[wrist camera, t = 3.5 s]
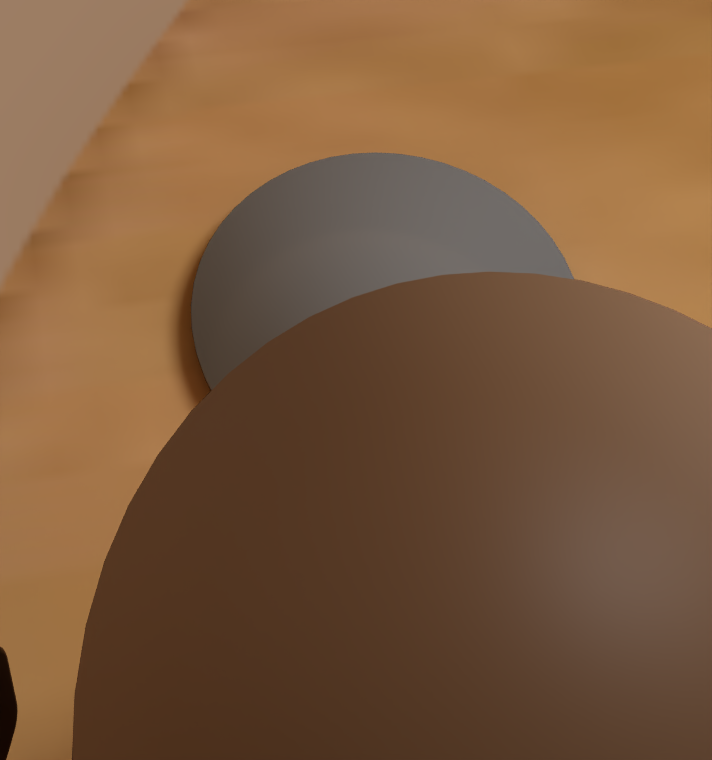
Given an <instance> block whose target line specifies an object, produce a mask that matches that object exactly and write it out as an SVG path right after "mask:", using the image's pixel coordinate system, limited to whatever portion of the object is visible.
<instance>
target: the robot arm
mask: <svg viewBox="0 0 712 760" xmlns="http://www.w3.org/2000/svg"><path fill="white" fill-rule="evenodd" d="M16 721H17V701H16V696H15V692H14V687H13V682H12V677H11V673H10V668H9V663H8V658H7V655H6V652H5V651H4V649H3V648H2V647H0V760H6V758H7V755H8V752H9V748H10V745H11V741H12V738H13V734H14V731H15V727H16Z"/></svg>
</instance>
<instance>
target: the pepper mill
mask: <svg viewBox="0 0 712 760" xmlns="http://www.w3.org/2000/svg"><path fill="white" fill-rule="evenodd" d="M72 760H712V328H710V327H708V326H706V325H704V324H702V323H700V322H697V321H695V320H693V319H691V318H689V317H687V316H685V315H683V314H681V313H679V312H677V311H675V310H673V309H670V308H668V307H665V306H662V305H660V304H657V303H654V302H652V301H649V300H646V299H644V298H641V297H638V296H636V295H633V294H630V293H627V292H623V291H620V290H616V289H612V288H608V287H604V286H601V285H597V284H593V283H589V282H585V281H581V280H575V279H568V278H561V277H555V276H548V275H542V274H535V273H511V272H475V273H461V274H447V275H439V276H434V277H428V278H423V279H418V280H412V281H407V282H402V283H397V284H393V285H390V286H387V287H384V288H381V289H378V290H374V291H371V292H368V293H365V294H362V295H358V296H355V297H352V298H350V299H348V300H346V301H343V302H341V303H339V304H337V305H334V306H332V307H330V308H328V309H326V310H323V311H321V312H319V313H317V314H315V315H312V316H310V317H308V318H307V319H305V320H303V321H302V322H300V323H298V324H297V325H295V326H294V327H292V328H290V329H289V330H287V331H285V332H284V333H282V334H280V335H279V336H277V337H275V338H274V339H272V340H271V341H269V342H267V343H266V344H265V345H264V346H262V347H261V348H260V349H259V350H257V351H256V352H255V353H253V354H252V355H251V356H250V357H248V358H247V359H246V360H245V361H243V362H242V363H241V364H240V365H238V366H237V367H236V368H235V369H233V370H232V371H231V372H230V373H228V374H227V375H226V376H225V377H224V378H223V379H222V380H221V381H220V382H219V383H218V384H217V385H216V386H215V388H214V389H213V390H212V391H211V392H210V393H209V394H208V395H207V396H206V397H205V398H204V399H203V400H202V401H201V402H200V403H199V404H198V405H197V406H196V407H195V408H194V409H193V410H192V411H191V412H190V414H189V415H188V416H187V417H186V419H185V420H184V421H183V423H182V424H181V425H180V427H179V428H178V429H177V431H176V432H175V433H174V435H173V436H172V437H171V438H170V440H169V441H168V442H167V444H166V445H165V446H164V448H163V449H162V450H161V452H160V453H159V454H158V456H157V457H156V459H155V461H154V463H153V464H152V466H151V468H150V469H149V471H148V473H147V475H146V476H145V478H144V480H143V481H142V483H141V485H140V487H139V488H138V490H137V492H136V493H135V495H134V497H133V499H132V500H131V502H130V504H129V505H128V508H127V510H126V512H125V515H124V517H123V519H122V522H121V524H120V526H119V529H118V531H117V533H116V536H115V538H114V540H113V543H112V545H111V547H110V550H109V552H108V554H107V557H106V559H105V561H104V565H103V568H102V571H101V575H100V578H99V582H98V585H97V589H96V592H95V596H94V599H93V602H92V606H91V609H90V613H89V616H88V620H87V623H86V628H85V634H84V640H83V646H82V652H81V658H80V664H79V670H78V677H77V683H76V689H75V699H74V723H73V747H72Z"/></svg>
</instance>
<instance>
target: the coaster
mask: <svg viewBox="0 0 712 760" xmlns="http://www.w3.org/2000/svg"><path fill="white" fill-rule="evenodd" d="M475 272H511V273H535V274H542V275H548V276H555V277H561V278H568V279H574V278H573V276H572V273H571V271H570V269H569V267H568V265H567V263H566V261H565V258H564V257H563V255H562V253H561V252H560V250H559V249H558V247H557V246H556V244H555V242H554V241H553V239H552V238H551V237H550V236H549V234H548V233H547V232H546V231H545V229H544V228H543V227H542V226H541V225H540V223H539V222H538V221H537V220H536V219H535V218H534V217H533V216H532V215H531V214H530V213H529V212H528V211H527V210H525V209H524V208H523V207H522V206H521V205H520V204H519V203H517V202H516V201H515V200H513V199H512V198H511V197H510V196H508V195H507V194H506V193H504V192H503V191H501V190H500V189H498V188H496V187H495V186H493V185H491V184H490V183H488V182H487V181H485V180H483V179H481V178H479V177H477V176H475V175H472V174H470V173H468V172H466V171H464V170H461V169H459V168H456V167H453V166H450V165H448V164H445V163H442V162H438V161H434V160H430V159H426V158H422V157H416V156H409V155H403V154H392V153H359V154H348V155H342V156H335V157H330V158H326V159H322V160H318V161H314V162H311V163H308V164H305V165H302V166H300V167H297V168H294V169H292V170H289V171H287V172H285V173H283V174H281V175H279V176H278V177H276V178H274V179H272V180H270V181H268V182H267V183H265V184H264V185H262V186H261V187H259V188H258V189H257V190H255V191H254V192H252V193H251V194H250V195H249V196H247V197H246V198H245V199H244V200H243V201H242V202H241V203H240V204H238V205H237V206H236V207H235V208H234V209H233V210H232V212H231V213H230V214H229V215H228V216H227V217H226V218H225V220H224V221H223V222H222V223H221V224H220V226H219V227H218V229H217V231H216V232H215V234H214V235H213V237H212V238H211V240H210V241H209V243H208V245H207V248H206V250H205V252H204V254H203V256H202V259H201V261H200V263H199V267H198V270H197V274H196V277H195V281H194V286H193V294H192V302H191V320H192V332H193V338H194V343H195V348H196V353H197V356H198V359H199V362H200V365H201V368H202V371H203V374H204V376H205V379H206V382H207V384H208V386H209V388H210V390H211V391H212V390H213V389H214V388H215V386H216V385H217V384H218V383H219V382H220V381H221V380H222V379H223V378H224V377H225V376H226V375H227V374H228V373H230V372H231V371H232V370H233V369H235V368H236V367H237V366H238V365H240V364H241V363H242V362H243V361H245V360H246V359H247V358H248V357H250V356H251V355H252V354H253V353H255V352H256V351H257V350H259V349H260V348H261V347H262V346H264V345H265V344H266V343H267V342H269V341H271V340H272V339H274V338H275V337H277V336H279V335H280V334H282V333H284V332H285V331H287V330H289V329H290V328H292V327H294V326H295V325H297V324H298V323H300V322H302V321H303V320H305V319H307V318H308V317H310V316H312V315H315V314H317V313H319V312H321V311H323V310H326V309H328V308H330V307H332V306H334V305H337V304H339V303H341V302H343V301H346V300H348V299H350V298H352V297H355V296H358V295H362V294H365V293H368V292H371V291H374V290H378V289H381V288H384V287H387V286H390V285H393V284H397V283H402V282H407V281H412V280H418V279H423V278H428V277H434V276H439V275H447V274H461V273H475Z"/></svg>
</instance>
